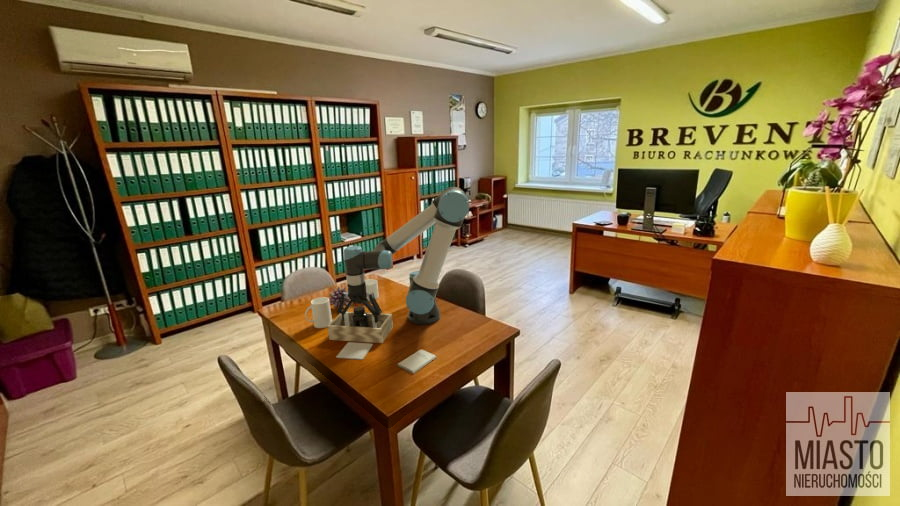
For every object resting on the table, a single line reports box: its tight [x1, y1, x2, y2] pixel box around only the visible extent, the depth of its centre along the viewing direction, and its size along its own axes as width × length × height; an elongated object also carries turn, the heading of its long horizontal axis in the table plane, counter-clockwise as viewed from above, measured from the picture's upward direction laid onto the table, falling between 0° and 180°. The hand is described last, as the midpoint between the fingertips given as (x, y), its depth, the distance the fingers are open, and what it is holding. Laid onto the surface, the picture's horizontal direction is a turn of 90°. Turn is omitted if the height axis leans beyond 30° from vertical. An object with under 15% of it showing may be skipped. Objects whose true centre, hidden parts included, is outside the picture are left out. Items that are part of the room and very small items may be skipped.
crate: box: [326, 311, 394, 344], centre depth 158 cm, size 24×14×6 cm, turn 80°
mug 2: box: [365, 278, 380, 302], centre depth 195 cm, size 12×9×9 cm
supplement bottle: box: [352, 305, 369, 327], centre depth 157 cm, size 7×7×12 cm
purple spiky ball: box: [328, 285, 351, 309], centre depth 182 cm, size 12×12×12 cm
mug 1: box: [304, 296, 333, 329], centre depth 166 cm, size 12×8×12 cm
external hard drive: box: [397, 349, 437, 374], centre depth 136 cm, size 2×8×12 cm
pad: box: [335, 341, 374, 361], centre depth 145 cm, size 11×11×1 cm
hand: (361, 327), depth 158 cm, fingers open, 12 cm apart
